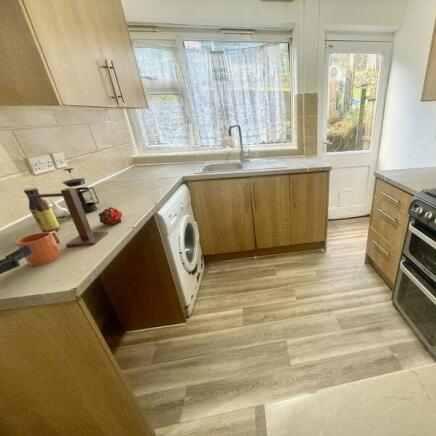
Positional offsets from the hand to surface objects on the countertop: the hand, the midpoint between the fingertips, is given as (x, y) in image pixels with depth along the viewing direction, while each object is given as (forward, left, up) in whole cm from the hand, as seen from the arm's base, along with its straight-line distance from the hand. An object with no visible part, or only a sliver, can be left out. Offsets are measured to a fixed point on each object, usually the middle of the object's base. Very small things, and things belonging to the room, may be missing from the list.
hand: (4, 250), depth 74 cm
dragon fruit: (+8, +40, -10) cm, 42 cm away
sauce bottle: (-16, +36, -10) cm, 41 cm away
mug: (0, +12, -10) cm, 16 cm away
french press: (-15, +60, -10) cm, 63 cm away
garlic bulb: (-25, +55, -10) cm, 61 cm away
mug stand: (+2, +23, -10) cm, 25 cm away
